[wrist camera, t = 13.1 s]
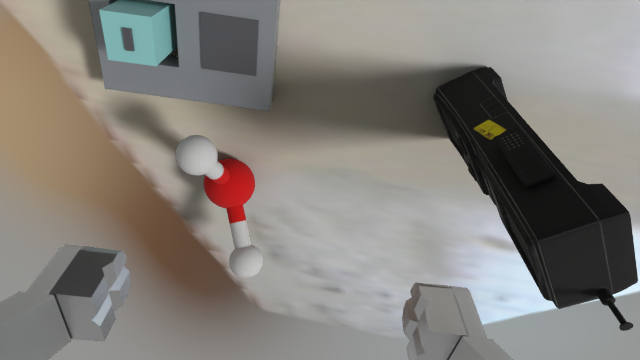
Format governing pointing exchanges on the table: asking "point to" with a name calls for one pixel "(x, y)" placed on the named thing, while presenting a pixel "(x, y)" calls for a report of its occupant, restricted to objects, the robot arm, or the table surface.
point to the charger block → (139, 31)
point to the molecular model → (224, 195)
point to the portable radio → (540, 197)
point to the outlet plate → (206, 54)
